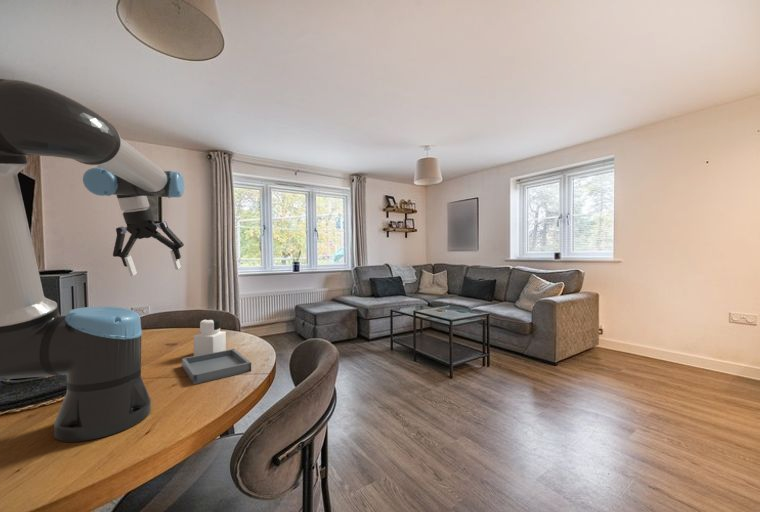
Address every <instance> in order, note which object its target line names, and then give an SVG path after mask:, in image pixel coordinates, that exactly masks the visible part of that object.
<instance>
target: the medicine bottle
mask: <svg viewBox="0 0 760 512" xmlns="http://www.w3.org/2000/svg"><path fill="white" fill-rule="evenodd" d="M199 324H200V325H199V328H200V329H199V330H200V331H199V332H200V333H198V334H194V335H193V356H198V355H203V354H209V353H214V352H219V351H225V350H227V347H226V346H227V344H226V342H227V340H226V339H227V338H226V337H227V336H226V335H227V332H226V331H221V320H220V319H219V318H204V319H203V320H201V321H200V322H199Z"/></svg>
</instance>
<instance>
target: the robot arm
mask: <svg viewBox="0 0 760 512" xmlns="http://www.w3.org/2000/svg"><path fill="white" fill-rule="evenodd" d="M26 156H37V157H39V156H41V157H54V158H62V159H70V160H74V161H76V162H78V163H80V164H84V165H87V166H96V167H92V168H88V169H87V170H86V171H85V172H84V173H83V175H82V182H83V185H84V187H85V188H86V190H87V191H89V192H90V193H91V194H94V195H96V196H102V197H104V196H106V197H111V196H114V195H115V196H116V198H117V201H118V204H119V207H120V210H121V211H122V216H123V219H124V222H125V224H126V226H119V227H116V228H115V232H116V239H115V243H114V247H113V251H112V257H118V258H121V261H122V264H123V266H124V267H127V270H128V273H129V274H130V277H134V276H135V275H137V274H138V272H137V268H136V266H135V263H134V260H133V257H132V255H131V254H129V253H130V251H131V250H132V248H133V246H134V245H135V244H136V241H137V240H143V239H150V238H153V239H155V240H157V241H158V242H160V243H161V244H163V245H164V246H165V247H167V248H168V249H170V250H171V251H169V252H170V255H171V259H172V262H173V265H174V268H175V271H177V270H179V269H180V268H181V267H182V266H181V263H180V259H181V257H182V255H181V253H180V249H181V248H183V247H184V246H185V244H184V243H183V241H181V240H180V238H179V237H178V236H177V235H176V234H175V233H174V232H173V230H171V228H169V226H168V223H167V221H165V220H164V221H161V222H159V223H156V222H155V217H154V214H153V212H152V209H150V202H149V199H148V197H157V198H158V197H159V198H167V199H168V198H169V199H170V198H181V197H182V196H183V194H184V192H185V181H184V177H183V175H182V174H181V173H180V172H179V171H172V170H164V169H163V168H161V167H160V166H158V165H157V164H156V163H155V162H153V161H152V160H150V158H148V157H147V156H146V155H144V154H143V153H142V152H140V151H139V150H137V149H136V148H135V147H133V146H132V145H131V144H130V143H128V142H127V141H126V140H124V139H123V138H121V135H120V132H119V130H118V129H117V128H116V127H115V126H114V125H113V124H112V123H111V122H109V121H108V120H106V119H105V118H104V117H102V116H101V115H99V113H97V112H95V111H94V110H92V109H91V108H88V107H87V106H85V105H83V104H81V103H80V102H79V101H76V100H75V99H73V98H70V97H68V96H66V95H65V94H61V93H60V92H57V91H56V90H52V88H51V89H50V88H49V87H44V86H42V85H40V84H36V83H33V82H29V81H25V80H17V79H5V78H0V381H9V380H13V379H28V378H37V377H38V378H40V377H51V376H52V377H54V376H55V377H56V376H66V393H65V396H64V398H63V401H62V403H61V406H60V408H59V410H58V413H57V415H56V417H55V420H54V423H53V437H54V438H55V439H56V440H58V441H61V442H65V443H67V442H68V443H69V442H71V443H73V442H75V443H77V442H86V441H91V440H96V439H100V438H104V437H108V436H111V435H114V434H115V435H116V434H117V433H121V432H122V431H125V430H126V429H127V430H128V429H129V428H132V427H134V426H136V425H137V424H139V423H140V422H142V421H143V420H145V419H146V418H147V417H148V416H149V415H150V413H151V412H152V401H151V397H150V395H149V392H148V391H147V390H148V389H147V388H146V385H145V383H144V381H143V378H142V335H143V329H142V324H141V323H142V322H141V321H142V320H141V316H140V315H139V313H138V312H137V311H135V310H133V309H129V308H124V307H115V306H97V307H96V306H87V307H78V308H73V309H70V310H68V312H67V313H66V315H61V314H60V311H59V308H58V302H56V301H54V300H52V299H50V298H47V297H46V296H45V295H44V290H43V289H44V288H43V286H42V281H41V277H40V272H39V267H38V262H37V258H36V254H35V249H34V244H33V238H32V237H31V235H32V234H31V231H30V227H29V222H28V221H29V220H28V217H27V213H26V208H25V204H24V203H25V202H24V200H23V195H22V191H21V186H20V182H19V177H18V174H19V173H20V172H21V171H22V170H23V169H25V168H26V167H28V161H27V157H26ZM158 228H159V229H160V230H161V231H162V232H163V234H164V235H166V237H165V236H164V235H163V234H162V233H161V232H159V231H158V230H157V229H158ZM127 232H128V233H129V234H130V236H129V238H128V240H127V242H126V244H125V246H124V242H125V237H126V233H127ZM168 238H169V239H168ZM123 246H124V247H123Z"/></svg>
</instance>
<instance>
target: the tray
mask: <svg viewBox="0 0 760 512" xmlns="http://www.w3.org/2000/svg"><path fill="white" fill-rule="evenodd" d="M181 367H182V369H183V371H184V373H186V375H187V377H188V378H189V380H190V381H191V383H192V384H193V385H198V384H202V383H206V382H210V381H215V380H219V379H223V378H228V377H231V376H235V375H236V376H237V375H239V374H240V373H241V374H245V373H249V372H252V362H251V361H250V360H249V359H247V358H246V357H245V356H243V354H241V353H240V352H239V351H237V350H236V349H234V348H231V349H226V350H225V351H219V352H214V353H209V354H203V355H198V356H194V355H193V356H188V357H182V358H181ZM248 371H249V372H248ZM244 372H245V373H244Z"/></svg>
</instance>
